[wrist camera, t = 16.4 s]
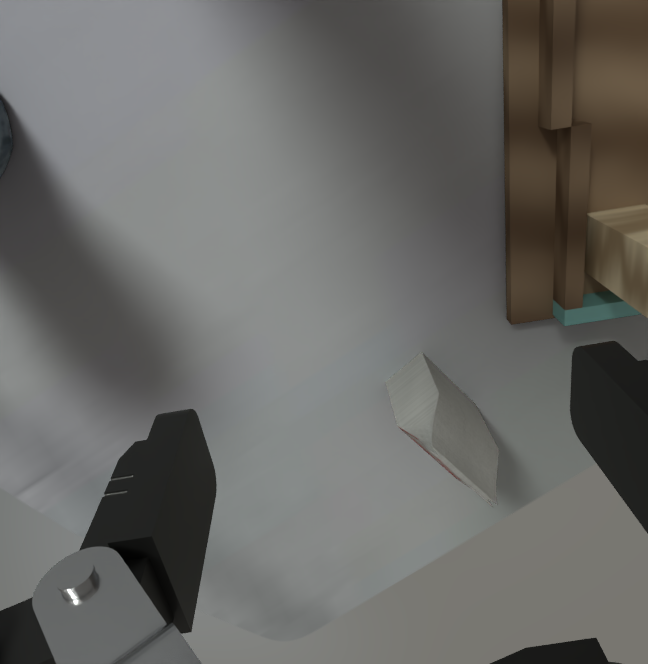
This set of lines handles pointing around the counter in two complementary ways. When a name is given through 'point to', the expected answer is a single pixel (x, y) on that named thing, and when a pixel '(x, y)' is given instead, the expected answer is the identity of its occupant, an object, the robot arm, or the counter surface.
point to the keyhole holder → (570, 146)
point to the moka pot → (4, 139)
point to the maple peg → (620, 253)
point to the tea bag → (445, 424)
